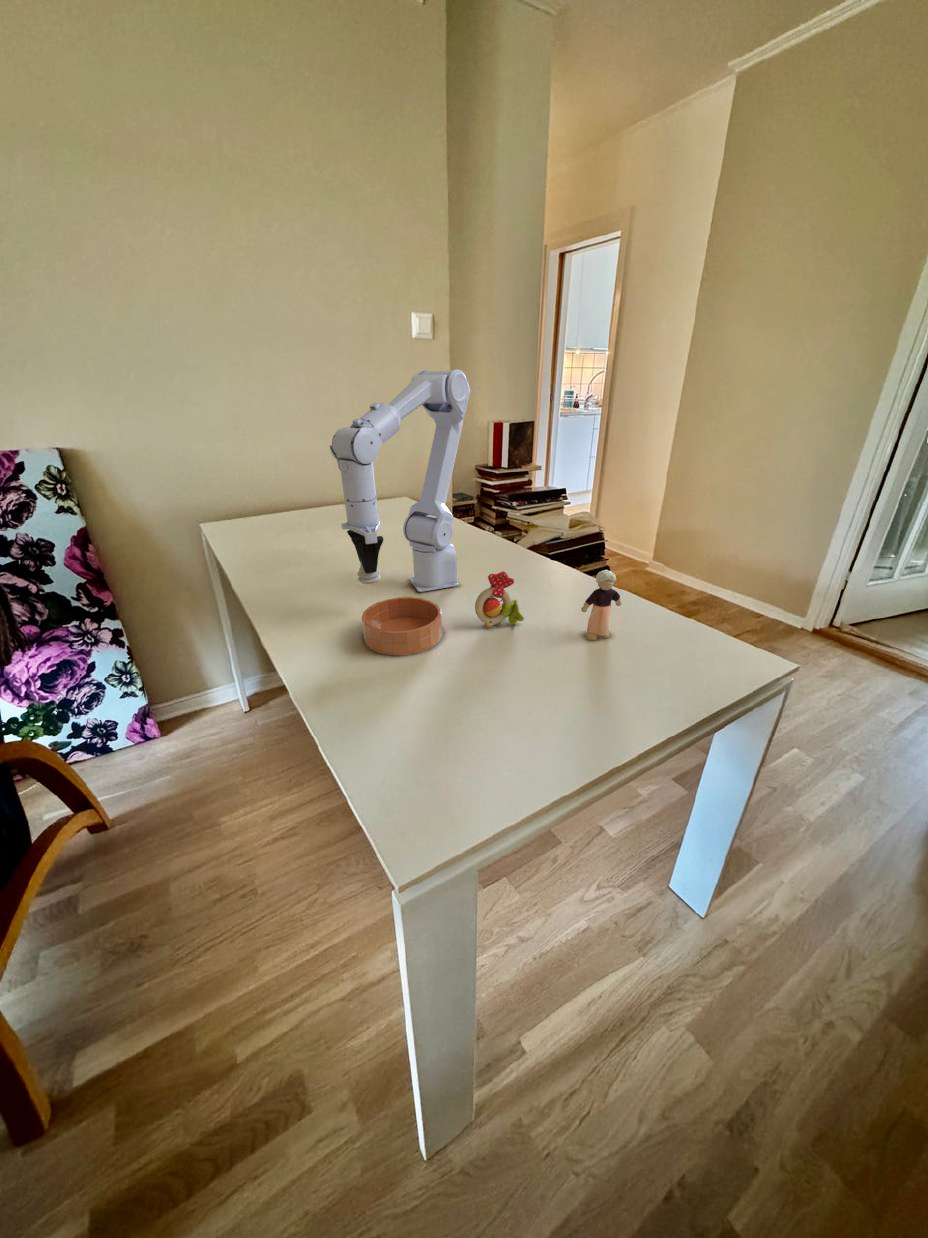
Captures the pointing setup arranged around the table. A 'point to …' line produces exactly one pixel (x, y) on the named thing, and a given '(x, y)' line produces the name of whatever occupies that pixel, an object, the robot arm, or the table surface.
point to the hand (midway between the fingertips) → (368, 568)
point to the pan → (402, 626)
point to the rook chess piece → (368, 576)
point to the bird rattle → (497, 602)
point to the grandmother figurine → (601, 605)
